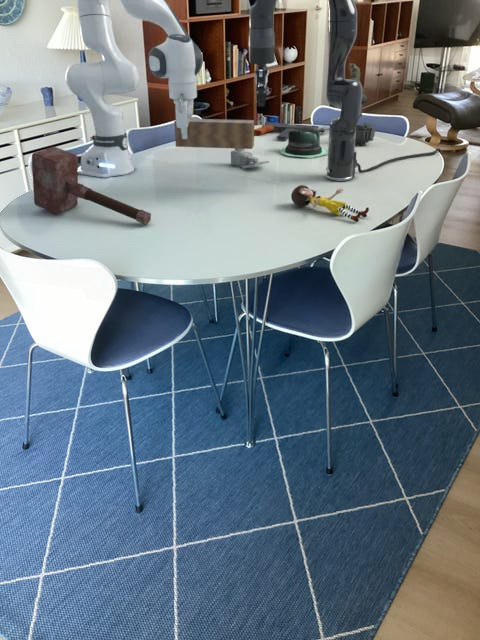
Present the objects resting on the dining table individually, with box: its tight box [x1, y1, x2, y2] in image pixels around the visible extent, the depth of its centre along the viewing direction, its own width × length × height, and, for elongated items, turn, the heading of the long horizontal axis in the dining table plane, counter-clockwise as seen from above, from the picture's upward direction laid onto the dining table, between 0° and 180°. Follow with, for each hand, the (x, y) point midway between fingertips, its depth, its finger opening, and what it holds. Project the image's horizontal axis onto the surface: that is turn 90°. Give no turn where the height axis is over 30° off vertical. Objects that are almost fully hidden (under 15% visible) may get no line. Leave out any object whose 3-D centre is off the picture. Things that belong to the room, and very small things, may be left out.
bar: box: [173, 118, 255, 150], centre depth 182 cm, size 26×5×8 cm, turn 81°
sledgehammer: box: [31, 146, 152, 226], centre depth 169 cm, size 17×10×40 cm
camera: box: [230, 148, 270, 169], centre depth 214 cm, size 9×12×15 cm
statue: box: [348, 62, 368, 125], centre depth 262 cm, size 11×9×30 cm
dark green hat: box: [279, 128, 328, 159], centre depth 234 cm, size 15×19×20 cm
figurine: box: [290, 184, 370, 223], centre depth 170 cm, size 13×8×25 cm
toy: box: [355, 122, 376, 146], centre depth 244 cm, size 9×9×15 cm
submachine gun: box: [254, 121, 326, 141], centre depth 264 cm, size 32×3×25 cm
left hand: (185, 136), depth 184 cm, fingers closed on bar, 5 cm apart
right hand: (261, 103), depth 171 cm, fingers open, 8 cm apart
